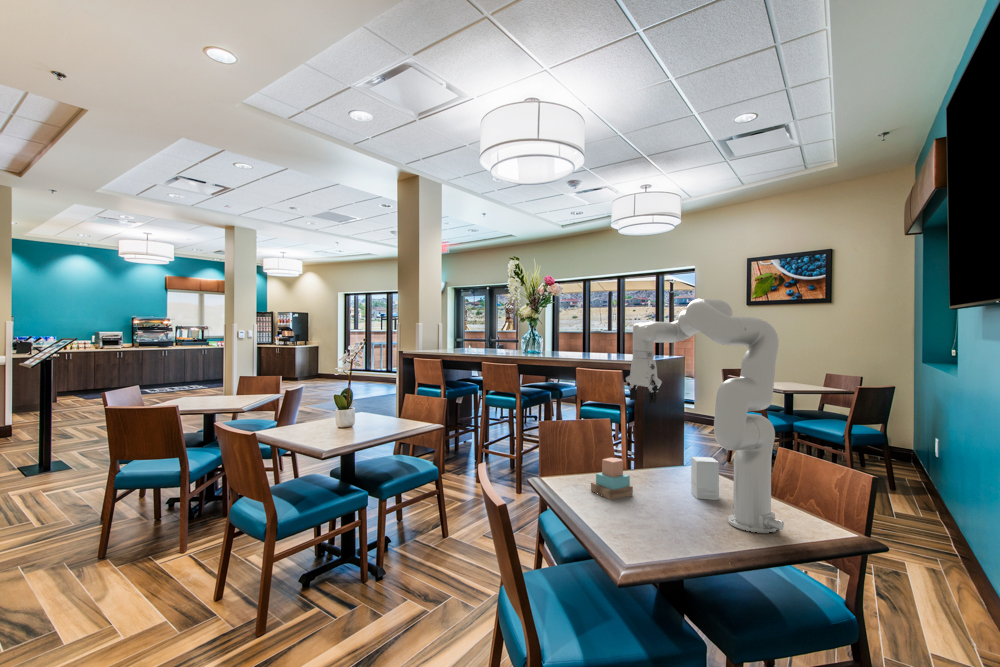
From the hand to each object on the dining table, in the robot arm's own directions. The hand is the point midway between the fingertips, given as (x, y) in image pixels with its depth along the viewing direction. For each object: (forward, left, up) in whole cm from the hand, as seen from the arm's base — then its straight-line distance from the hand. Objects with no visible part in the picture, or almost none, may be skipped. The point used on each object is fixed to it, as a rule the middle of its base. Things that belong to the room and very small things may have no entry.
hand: (642, 401), depth 176 cm
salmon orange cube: (-5, +19, -24) cm, 31 cm away
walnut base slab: (-5, +19, -31) cm, 37 cm away
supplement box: (-21, -8, -31) cm, 38 cm away
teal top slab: (-5, +19, -27) cm, 34 cm away
